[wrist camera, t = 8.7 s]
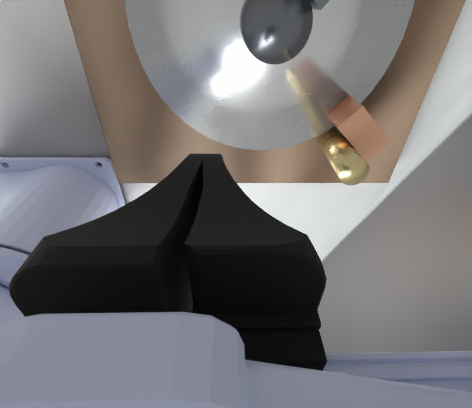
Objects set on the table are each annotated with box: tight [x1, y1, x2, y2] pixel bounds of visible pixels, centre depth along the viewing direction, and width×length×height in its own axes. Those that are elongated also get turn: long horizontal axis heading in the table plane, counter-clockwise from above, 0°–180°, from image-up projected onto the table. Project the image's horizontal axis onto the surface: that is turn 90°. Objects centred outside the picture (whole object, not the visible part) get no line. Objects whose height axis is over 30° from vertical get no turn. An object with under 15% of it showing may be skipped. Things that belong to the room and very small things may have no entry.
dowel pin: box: [316, 126, 370, 185], centre depth 17 cm, size 2×2×5 cm
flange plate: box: [125, 0, 415, 161], centre depth 13 cm, size 16×16×4 cm
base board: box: [64, 0, 466, 183], centre depth 15 cm, size 21×21×2 cm
